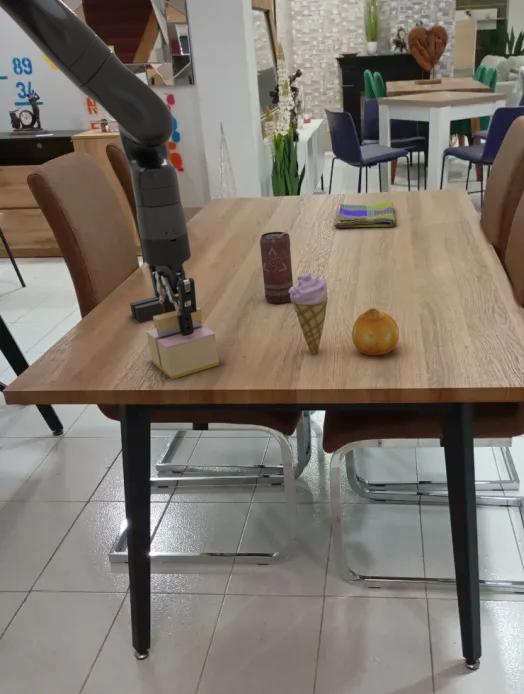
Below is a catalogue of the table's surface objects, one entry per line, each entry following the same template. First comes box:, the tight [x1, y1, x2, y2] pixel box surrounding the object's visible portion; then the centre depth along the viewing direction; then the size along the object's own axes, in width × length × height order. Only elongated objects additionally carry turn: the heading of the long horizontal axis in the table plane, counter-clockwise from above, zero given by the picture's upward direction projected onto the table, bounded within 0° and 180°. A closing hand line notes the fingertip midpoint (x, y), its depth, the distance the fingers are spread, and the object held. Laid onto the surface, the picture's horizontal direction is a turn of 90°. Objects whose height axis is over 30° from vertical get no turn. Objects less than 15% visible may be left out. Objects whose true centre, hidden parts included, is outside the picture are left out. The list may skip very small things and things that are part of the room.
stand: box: [129, 296, 164, 323], centre depth 145 cm, size 9×4×3 cm, turn 123°
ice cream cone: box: [288, 271, 328, 355], centre depth 120 cm, size 7×6×15 cm
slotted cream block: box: [146, 323, 220, 380], centre depth 121 cm, size 9×9×6 cm
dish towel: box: [334, 201, 396, 229], centre depth 206 cm, size 18×24×3 cm
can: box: [259, 231, 294, 305], centre depth 146 cm, size 6×6×14 cm
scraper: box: [152, 305, 203, 339], centre depth 120 cm, size 8×2×9 cm, turn 124°
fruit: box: [351, 307, 400, 356], centre depth 121 cm, size 8×8×8 cm
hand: (179, 328), depth 119 cm, fingers open, 6 cm apart
